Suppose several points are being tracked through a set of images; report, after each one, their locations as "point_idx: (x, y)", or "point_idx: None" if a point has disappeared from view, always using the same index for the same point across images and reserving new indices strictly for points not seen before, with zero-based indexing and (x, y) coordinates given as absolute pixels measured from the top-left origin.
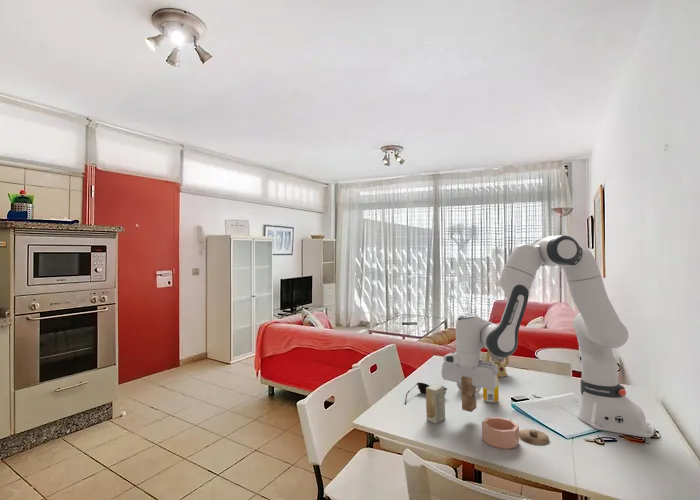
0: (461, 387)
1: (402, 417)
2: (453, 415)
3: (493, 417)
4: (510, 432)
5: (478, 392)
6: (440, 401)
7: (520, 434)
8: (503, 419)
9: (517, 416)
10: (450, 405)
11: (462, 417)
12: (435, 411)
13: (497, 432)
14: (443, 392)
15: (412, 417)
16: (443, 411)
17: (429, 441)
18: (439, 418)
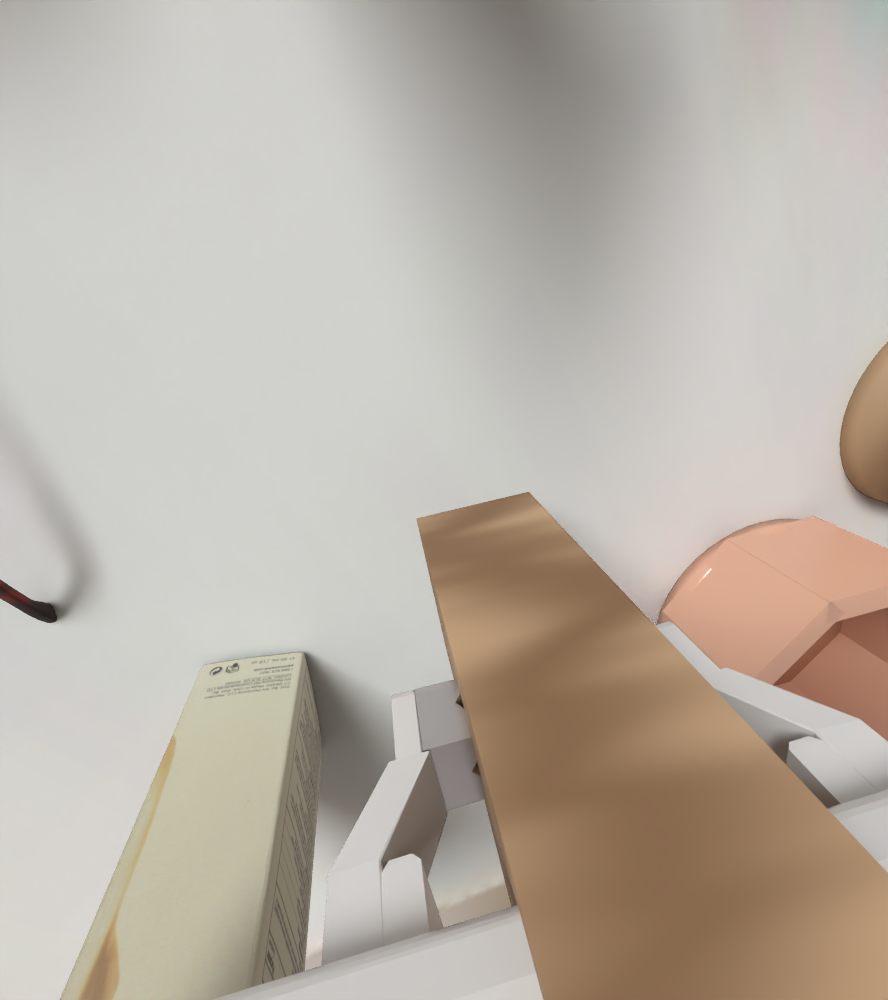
0: (422, 822)
1: (80, 856)
2: (295, 544)
3: (793, 642)
4: None
5: (729, 682)
6: (295, 883)
7: (870, 472)
8: (873, 609)
9: (787, 8)
10: (52, 346)
11: (379, 516)
12: (312, 849)
13: None
14: (267, 965)
15: (122, 808)
16: (301, 728)
17: (453, 882)
18: (315, 738)
